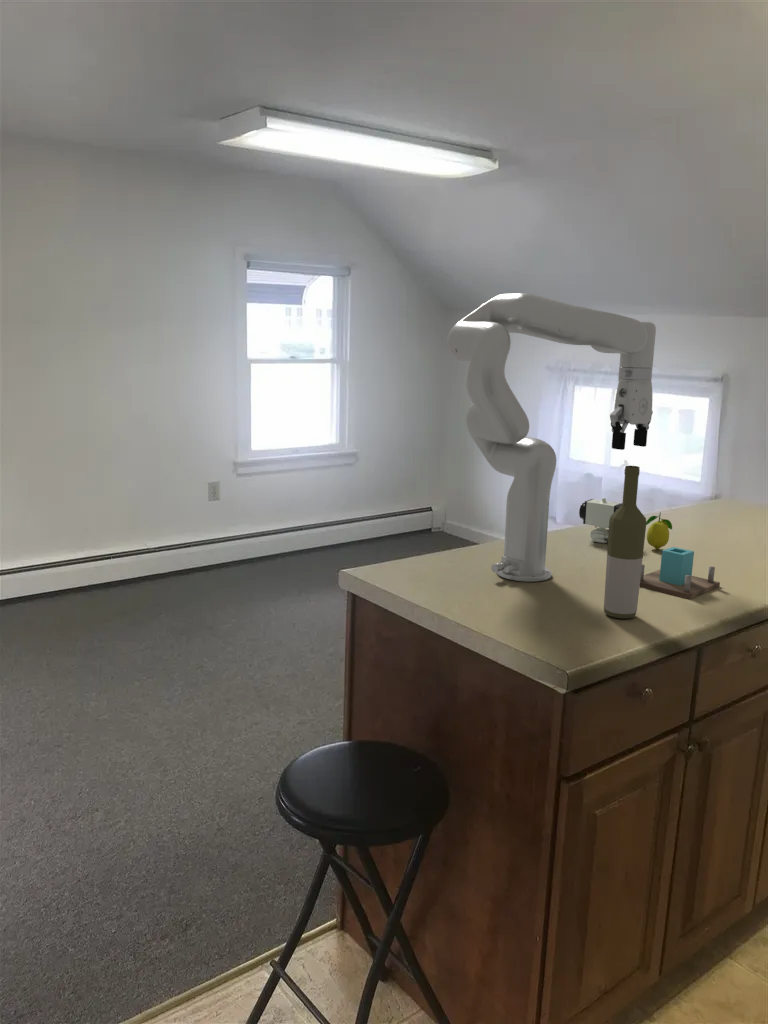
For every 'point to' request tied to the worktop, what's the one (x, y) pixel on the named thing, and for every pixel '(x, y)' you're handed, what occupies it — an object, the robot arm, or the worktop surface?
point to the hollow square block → (676, 565)
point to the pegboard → (687, 590)
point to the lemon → (658, 532)
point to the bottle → (625, 552)
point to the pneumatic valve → (598, 517)
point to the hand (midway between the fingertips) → (629, 447)
